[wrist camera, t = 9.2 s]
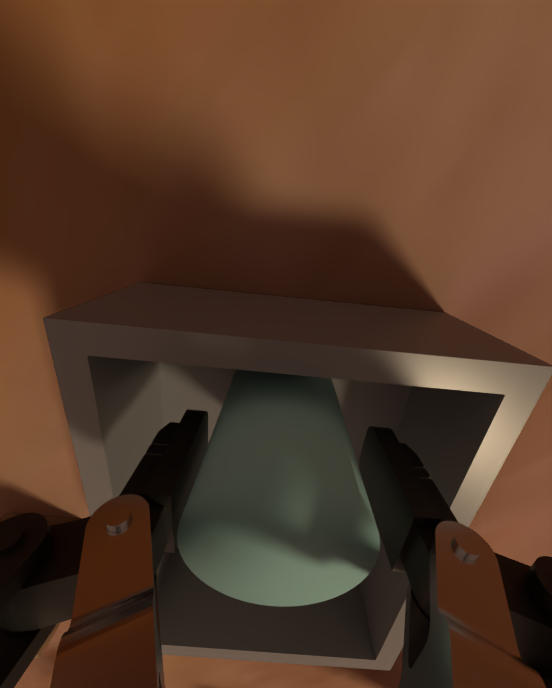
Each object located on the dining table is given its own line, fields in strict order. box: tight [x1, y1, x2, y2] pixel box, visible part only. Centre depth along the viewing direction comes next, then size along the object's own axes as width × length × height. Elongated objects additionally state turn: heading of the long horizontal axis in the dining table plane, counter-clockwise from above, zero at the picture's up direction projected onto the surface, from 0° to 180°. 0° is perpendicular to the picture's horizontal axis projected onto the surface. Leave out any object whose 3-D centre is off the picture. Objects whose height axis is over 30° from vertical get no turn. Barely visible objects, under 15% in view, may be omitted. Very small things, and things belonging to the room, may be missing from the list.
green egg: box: [177, 370, 380, 607], centre depth 10 cm, size 5×5×7 cm
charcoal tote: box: [43, 282, 552, 671], centre depth 13 cm, size 18×14×6 cm
